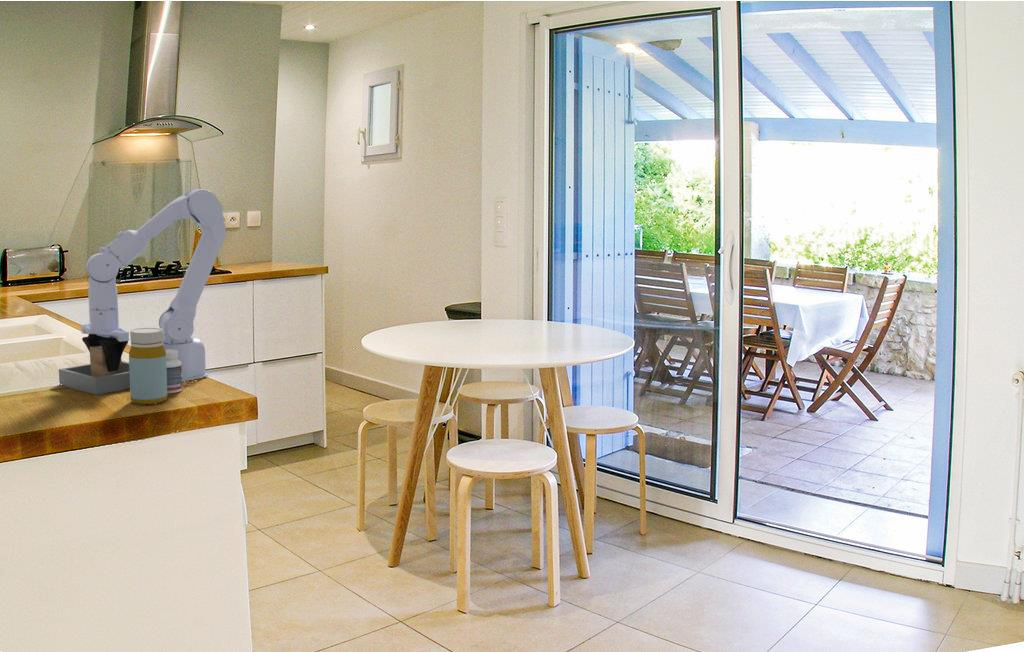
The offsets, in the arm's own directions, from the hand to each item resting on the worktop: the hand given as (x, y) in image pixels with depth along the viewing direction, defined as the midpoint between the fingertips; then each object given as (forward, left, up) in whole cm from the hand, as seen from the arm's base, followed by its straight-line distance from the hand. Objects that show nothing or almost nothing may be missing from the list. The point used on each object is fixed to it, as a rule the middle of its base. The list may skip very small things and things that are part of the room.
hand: (106, 369), depth 185 cm
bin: (0, 0, -3) cm, 3 cm away
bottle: (+3, +19, -4) cm, 20 cm away
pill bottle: (-5, +15, -4) cm, 16 cm away
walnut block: (0, 0, -2) cm, 2 cm away
